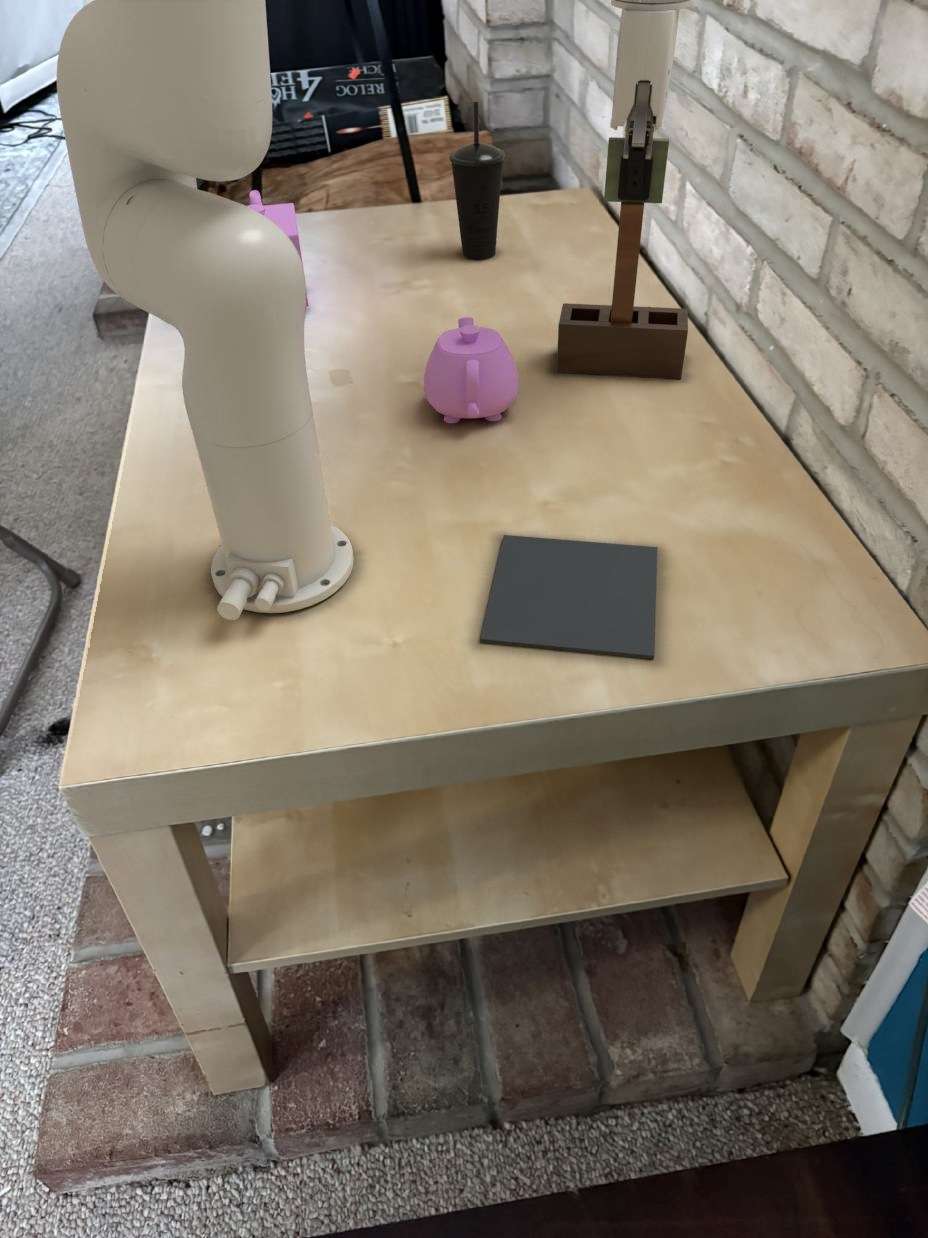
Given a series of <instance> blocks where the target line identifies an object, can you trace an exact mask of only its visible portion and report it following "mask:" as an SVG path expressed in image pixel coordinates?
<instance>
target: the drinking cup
mask: <svg viewBox="0 0 928 1238" xmlns="http://www.w3.org/2000/svg"><path fill="white" fill-rule="evenodd" d="M472 105H473V142H470V143H467V144H463V145H461V146H459V147H458V148H456V149H454V150H451V152H449V154H448V160H449V161H450V162H451V169H452V179H453V185H454V194H455V202H456V211H457V218H458V227H459V235H460V243H461V244H460V245H461V251H462V256H463V257H464V258H466V259H469V260H474V261H483V260H488V259H491V258H493V257H494V256H496V250H497V238H498V224H499V210H500V200H501V199H500V197H501V187H502V185H501V184H502V172H503V161H504V160H505V158H506V154H505V151H504V150H503V149H501V148H499V147H497V146H494V145H492V144H490V143H485V142H480V117H479V113H480V111H479V101H473V102H472Z"/></svg>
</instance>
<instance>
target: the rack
mask: <svg viewBox="0 0 928 1238" xmlns="http://www.w3.org/2000/svg"><path fill="white" fill-rule="evenodd" d="M611 310H612V304H609V305H608V304H587V303H568V302H567V303H566V302H565V303H562V307H561V311H560V315H559V321H558V331H557V349H556V350H557V351H556V353H557V354H556V355H557V356H556V373H564V374H582V375H599V376H615V377H616V376H618V377H636V378H654V379H657V378H658V379H673V380H674V379H675V380H682V376H683V369H684V362H685V356H686V348H687V341H688V335H689V308H681V307H680V308H679V307H677V308H676V307H657V306H654V307H653V306H635V305H634V307H633V316H632V323H619V322H610V321H611Z"/></svg>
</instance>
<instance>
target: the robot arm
mask: <svg viewBox="0 0 928 1238" xmlns="http://www.w3.org/2000/svg"><path fill="white" fill-rule="evenodd" d="M694 4H695V0H610V5H611V6H612V7H614V8H618V9H621V15H620V21H619V28H618V36H617V37H618V38H617V47H616V59H615V61H616V62H615V71H614V85H613V97H612V108H611V109H612V110H611V122H610V126H611V128H612V129H613V130H614V131H618V128H619V127H624V126H625V128H624V131H625V135H624V138H625V144H624V156H623V157H621V164H620V175H619V187H618V198H619V199H620V200H639V201H646V200H648V198H649V192H650V183H651V174H652V165H653V158H651V151H652V142H653V138H654V133H655V132H656V131H658V130H660V129H661V127H662V124H663V119H664V115H665V111H666V107H667V106H666V105H667V101H668V97H669V90H670V85H671V84H670V83H671V79H672V72H673V64H674V58H675V49H676V43H677V35H678V26H679V18H680V17H679V16H680V10H682V9H688V8H690V7H693V6H694ZM268 35H269V34H268V22H267V6H266V0H92V1H90V2H89V3H87V4H86V5H84V6H83V7H82V8H81V9H79V11H77V12H76V13H75V15H74V16H73V17H72V18H71V20H70V21H69V23H68V25H67V27H66V28H65V31H64V33H63V36H62V39H61V41H60V46H59V50H58V54H57V64H56V92H57V100H58V101H57V102H58V106H59V112H60V119H61V124H62V129H63V134H64V139H65V144H66V150H67V155H68V159H69V166H70V170H71V174H72V175H71V176H72V181H73V186H74V192H75V196H76V201H77V206H78V211H79V216H80V220H81V226H82V231H83V235H84V239H85V243H86V247H87V249H88V253H89V255H90V258H91V260H92V263H93V265H94V268H95V269H96V271H97V273H98V275H99V276H100V278H101V279H102V280H103V282H104V283H105V284H106V285H107V286H108V288H109V289H111V290H112V292H114V293H115V294H116V295H117V296H118V297H119V298H122V299H123V300H124V301H126V302H127V303H129V304H131V305H133V306H135V307H136V308H137V309H140V310H142V311H144V312H146V313H148V314H150V315H152V316H154V317H156V318H158V319H160V320H161V321H163V322H164V323H166V324H168V325H170V326H172V327H174V328H175V329H176V330H177V331H178V333H179V335H180V337H181V338H182V342H183V346H184V347H183V348H184V358H183V367H182V375H181V387H182V389H181V390H182V397H183V403H184V408H185V411H186V416H187V419H188V422H189V426H190V429H191V432H192V436H193V440H194V444H195V447H196V451H197V455H198V459H199V462H200V466H201V470H202V474H203V477H204V481H205V485H206V489H207V492H208V496H209V500H210V504H211V508H212V512H213V515H214V519H215V522H216V523H215V524H216V528H217V530H218V531H217V532H218V534H219V537H220V541H221V546H219V547H218V548H217V551H216V552H215V554H214V556H213V558H212V562H211V565H210V573H211V574H210V575H211V579H212V582H213V585H214V587H215V590H216V591H217V593H218V594H219V595H220V596H221V599H220V601H219V603H218V605H217V607H216V610H217V613H218V614H219V616H221V617H222V618H224V619H225V620H228V621H235V620H238V619H239V618H240V617H241V614H242V613H243V611H250V612H254V613H261V614H263V613H265V614H281V613H288V612H289V613H290V612H294V611H299V610H302V609H306V608H308V607H312V606H314V605H316V604H318V603H320V602H322V601H325V600H326V599H328V598H329V597H331V596H332V595H333V594H335V593H336V592H337V591H339V589H341V587H343V586H344V585H345V583H346V582H347V581H348V579H349V578H350V576H351V574H352V571H353V568H354V549H353V547H352V543H351V541H350V539H349V537H348V536H347V535H346V534H345V532H343V531H342V530H341V529H339V528H338V527H337V526H335V525H333V524H332V523H331V517H330V510H329V505H328V498H327V491H326V486H325V485H326V484H325V479H324V471H323V467H322V466H323V465H322V459H321V454H320V447H319V441H318V440H319V439H318V433H317V427H316V421H315V416H314V409H313V404H312V399H311V393H310V385H309V379H308V378H309V377H308V372H307V371H308V370H307V362H306V361H307V360H306V351H305V348H306V347H305V318H306V317H305V316H306V306H305V303H306V291H307V284H306V283H307V282H306V275H305V268H304V264H303V265H302V262H303V260H302V261H301V259H300V256H299V254H298V251H297V249H296V248H295V246H294V244H293V243H292V241H291V240H290V239H289V237H288V236H287V235H286V233H285V232H284V231H283V230H282V229H281V228H280V227H278V226H277V225H276V224H275V223H274V222H273V221H271V220H270V219H269V218H267V217H266V216H264V215H263V214H261V213H259V212H258V211H256V210H254V209H251V208H249V207H247V206H248V205H245V204H243V203H241V202H237V201H234V200H231V199H229V198H227V197H223V196H221V195H218V194H215V193H213V192H209V191H205V190H201V189H198V183H197V179H200V180H202V181H203V180H204V181H209V182H219V183H220V182H231V181H236V180H240V179H242V178H245V177H247V176H248V175H249V174H251V173H253V172H254V171H255V170H256V169H257V168H258V167H259V166H260V165H261V164H262V162H263V161H264V159H265V157H266V155H267V153H268V151H269V147H270V144H271V140H272V133H273V95H272V94H273V93H272V92H273V91H272V79H271V77H272V76H271V64H270V50H269V49H270V47H269V36H268ZM629 147H630V150H629ZM646 147H647V149H646ZM645 155H646V157H645Z"/></svg>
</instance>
